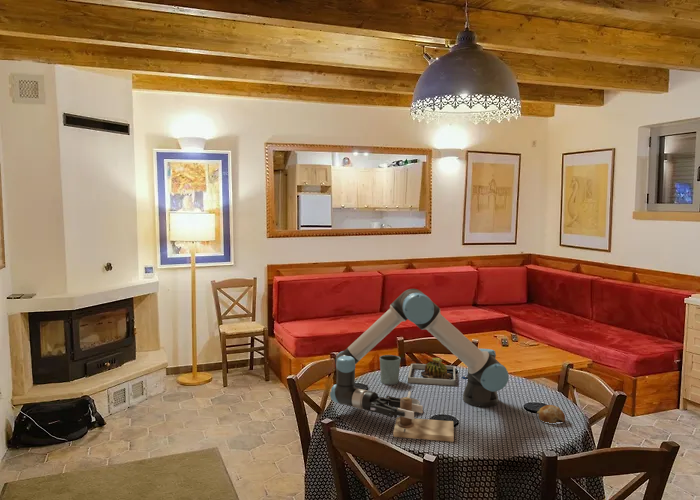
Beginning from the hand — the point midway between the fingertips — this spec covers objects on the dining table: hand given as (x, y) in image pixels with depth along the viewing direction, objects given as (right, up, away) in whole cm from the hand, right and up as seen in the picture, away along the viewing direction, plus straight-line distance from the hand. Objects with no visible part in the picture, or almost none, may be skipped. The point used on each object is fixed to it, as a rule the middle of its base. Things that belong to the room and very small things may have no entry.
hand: (417, 412), depth 207 cm
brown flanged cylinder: (-4, -6, +3) cm, 8 cm away
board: (+3, -8, +2) cm, 9 cm away
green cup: (-6, -3, +60) cm, 60 cm away
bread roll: (+55, -8, +14) cm, 57 cm away
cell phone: (+37, -3, +64) cm, 74 cm away
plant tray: (+16, -2, +68) cm, 70 cm away
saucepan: (-1, -6, +28) cm, 28 cm away
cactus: (+18, -3, +69) cm, 72 cm away
